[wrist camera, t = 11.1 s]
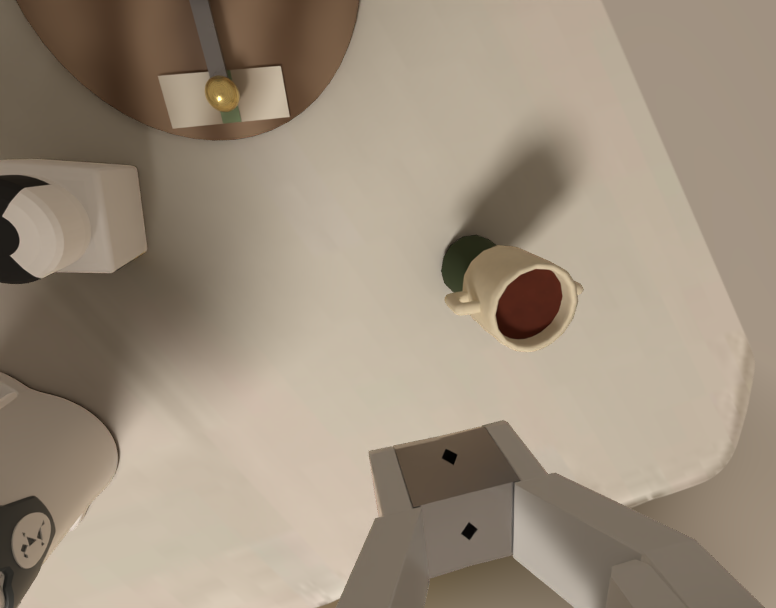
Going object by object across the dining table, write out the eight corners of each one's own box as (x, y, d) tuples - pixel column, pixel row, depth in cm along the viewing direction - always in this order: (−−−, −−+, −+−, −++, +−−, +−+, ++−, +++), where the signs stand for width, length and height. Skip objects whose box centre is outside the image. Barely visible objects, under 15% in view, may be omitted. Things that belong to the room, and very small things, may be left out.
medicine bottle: (54, 249, 33) (-68, 296, 22) (35, 158, 31) (-112, 161, 20) (149, 251, 35) (78, 297, 24) (138, 165, 32) (54, 171, 21)
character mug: (419, 304, 42) (466, 365, 30) (414, 237, 39) (463, 274, 27) (516, 288, 43) (597, 339, 31) (517, 222, 41) (606, 251, 29)
